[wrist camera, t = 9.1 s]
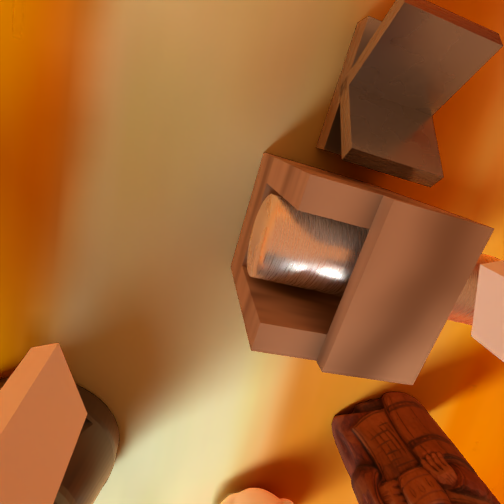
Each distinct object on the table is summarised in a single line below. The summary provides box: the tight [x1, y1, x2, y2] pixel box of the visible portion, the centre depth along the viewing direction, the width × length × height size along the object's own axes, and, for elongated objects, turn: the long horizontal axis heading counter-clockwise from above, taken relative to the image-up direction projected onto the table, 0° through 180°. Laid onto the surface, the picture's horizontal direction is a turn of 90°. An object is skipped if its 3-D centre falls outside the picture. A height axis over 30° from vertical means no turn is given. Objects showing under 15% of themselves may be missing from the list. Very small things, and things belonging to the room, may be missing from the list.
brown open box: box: [231, 153, 494, 385], centre depth 24 cm, size 10×10×13 cm
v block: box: [316, 0, 503, 187], centre depth 25 cm, size 7×10×6 cm
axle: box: [247, 194, 501, 325], centre depth 25 cm, size 18×6×6 cm, turn 73°
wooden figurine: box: [332, 392, 500, 504], centre depth 31 cm, size 12×6×18 cm, turn 105°
